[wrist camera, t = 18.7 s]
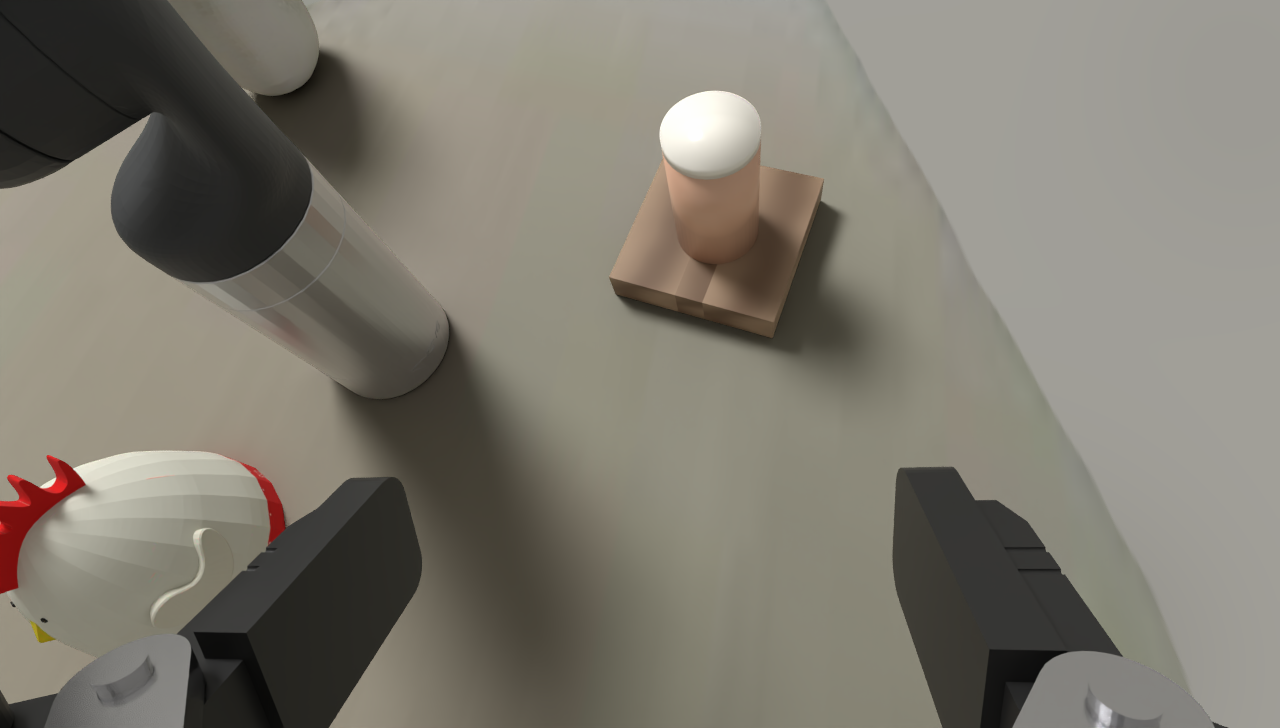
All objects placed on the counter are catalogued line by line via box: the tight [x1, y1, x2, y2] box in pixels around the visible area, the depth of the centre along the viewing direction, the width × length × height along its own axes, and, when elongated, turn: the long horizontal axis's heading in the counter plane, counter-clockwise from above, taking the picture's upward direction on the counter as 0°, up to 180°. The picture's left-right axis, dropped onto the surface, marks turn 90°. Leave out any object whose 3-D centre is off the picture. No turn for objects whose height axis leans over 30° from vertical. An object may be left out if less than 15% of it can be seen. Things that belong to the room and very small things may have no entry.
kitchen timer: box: [0, 451, 285, 658], centre depth 39 cm, size 14×14×15 cm
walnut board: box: [609, 159, 824, 338], centre depth 48 cm, size 12×12×2 cm
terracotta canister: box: [660, 91, 761, 264], centre depth 42 cm, size 6×6×10 cm
